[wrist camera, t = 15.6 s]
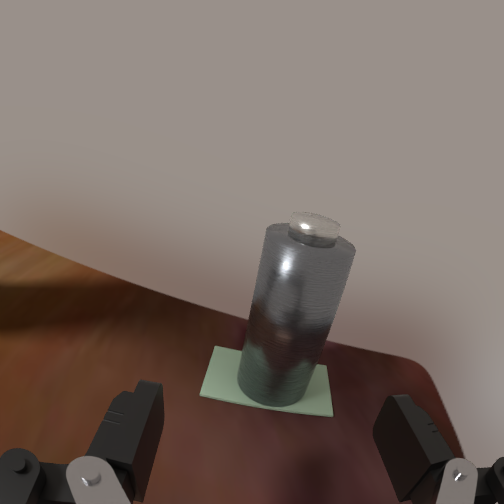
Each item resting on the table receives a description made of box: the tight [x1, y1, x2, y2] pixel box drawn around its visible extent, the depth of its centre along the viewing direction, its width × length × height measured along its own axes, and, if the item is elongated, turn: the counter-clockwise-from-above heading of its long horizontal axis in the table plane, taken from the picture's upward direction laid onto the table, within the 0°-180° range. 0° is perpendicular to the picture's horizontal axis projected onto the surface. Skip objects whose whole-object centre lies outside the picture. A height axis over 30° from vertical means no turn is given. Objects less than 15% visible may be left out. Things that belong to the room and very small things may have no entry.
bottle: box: [237, 212, 356, 407], centre depth 21 cm, size 6×6×13 cm
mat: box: [200, 346, 333, 417], centre depth 23 cm, size 10×6×1 cm, turn 84°
